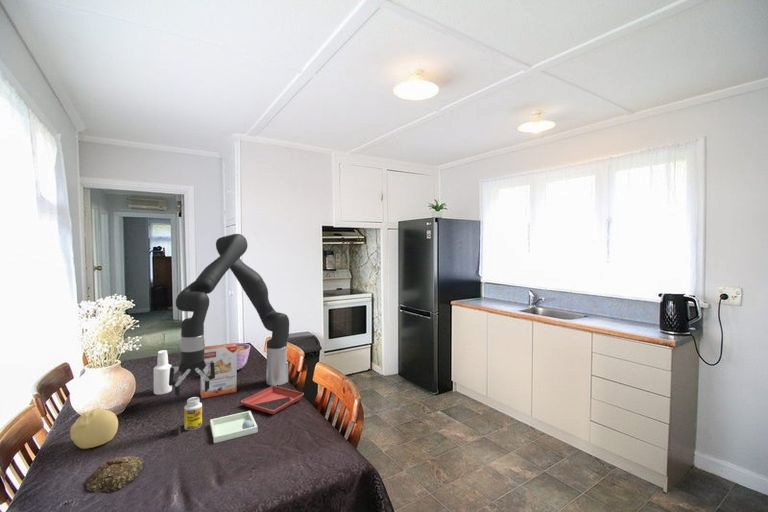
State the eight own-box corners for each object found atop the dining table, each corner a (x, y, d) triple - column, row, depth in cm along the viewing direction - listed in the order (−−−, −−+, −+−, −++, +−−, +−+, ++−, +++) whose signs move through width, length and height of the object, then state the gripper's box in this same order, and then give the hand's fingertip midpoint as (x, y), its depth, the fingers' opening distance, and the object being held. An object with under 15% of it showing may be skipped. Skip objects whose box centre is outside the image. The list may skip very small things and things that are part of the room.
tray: (250, 417, 132) (250, 410, 132) (257, 433, 121) (257, 426, 121) (210, 426, 125) (210, 419, 125) (214, 445, 114) (214, 437, 114)
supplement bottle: (185, 433, 121) (184, 404, 120) (183, 426, 125) (183, 398, 125) (203, 428, 124) (202, 400, 124) (201, 422, 128) (201, 394, 128)
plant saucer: (239, 408, 140) (239, 400, 140) (273, 392, 156) (273, 384, 156) (272, 419, 132) (273, 410, 132) (304, 401, 148) (304, 393, 148)
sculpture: (80, 437, 118) (79, 405, 117) (123, 431, 122) (122, 400, 122) (63, 456, 107) (62, 421, 107) (110, 449, 111) (110, 415, 111)
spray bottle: (175, 388, 158) (175, 349, 157) (164, 395, 151) (164, 353, 150) (161, 388, 158) (161, 348, 158) (149, 394, 152) (149, 353, 151)
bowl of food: (198, 374, 175) (198, 351, 175) (227, 362, 194) (227, 341, 194) (232, 379, 169) (232, 355, 169) (258, 366, 188) (258, 344, 188)
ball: (251, 427, 124) (251, 417, 124) (253, 431, 121) (253, 421, 121) (241, 429, 122) (241, 419, 122) (243, 434, 119) (243, 424, 119)
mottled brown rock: (152, 464, 104) (151, 447, 104) (122, 493, 92) (122, 475, 92) (107, 464, 104) (107, 448, 104) (72, 494, 91) (71, 475, 91)
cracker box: (201, 399, 147) (201, 350, 147) (200, 394, 152) (200, 346, 152) (237, 392, 155) (237, 345, 154) (235, 387, 160) (234, 342, 159)
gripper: (213, 342, 131) (213, 386, 131) (169, 347, 123) (168, 393, 124) (215, 348, 124) (215, 393, 125) (168, 353, 117) (168, 401, 117)
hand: (192, 393), depth 124 cm, fingers open, 8 cm apart
